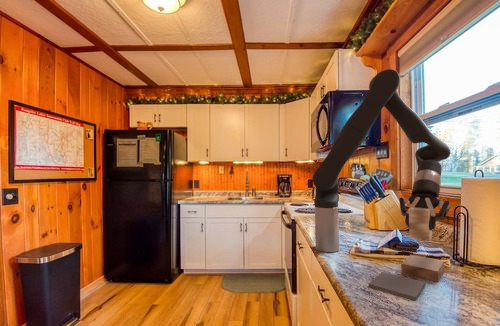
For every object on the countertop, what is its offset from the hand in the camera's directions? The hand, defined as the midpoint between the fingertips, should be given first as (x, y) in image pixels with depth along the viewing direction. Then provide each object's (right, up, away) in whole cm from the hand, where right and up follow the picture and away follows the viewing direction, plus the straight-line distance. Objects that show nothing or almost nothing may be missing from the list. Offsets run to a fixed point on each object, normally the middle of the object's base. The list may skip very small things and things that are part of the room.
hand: (419, 227), depth 77 cm
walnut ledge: (+2, -14, +1) cm, 14 cm away
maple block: (+1, -4, +1) cm, 4 cm away
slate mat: (-12, -14, -8) cm, 20 cm away
